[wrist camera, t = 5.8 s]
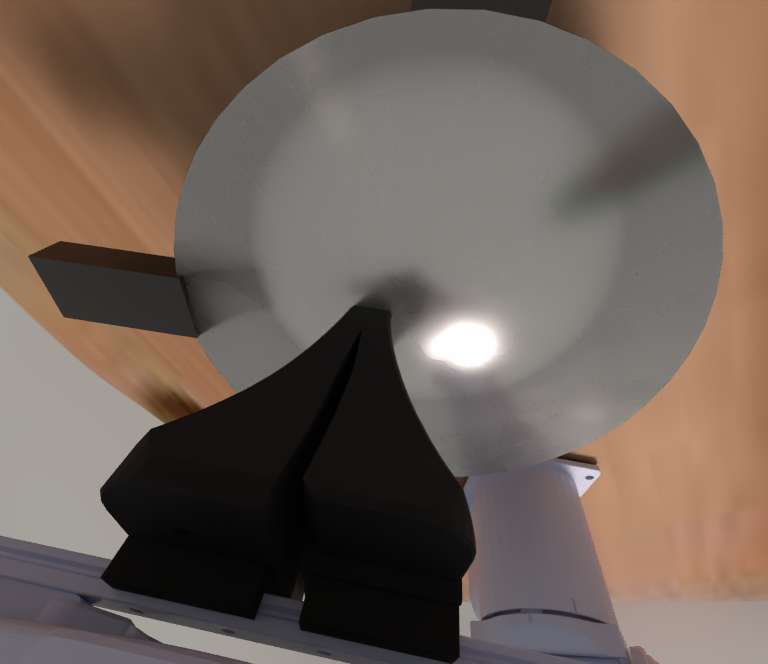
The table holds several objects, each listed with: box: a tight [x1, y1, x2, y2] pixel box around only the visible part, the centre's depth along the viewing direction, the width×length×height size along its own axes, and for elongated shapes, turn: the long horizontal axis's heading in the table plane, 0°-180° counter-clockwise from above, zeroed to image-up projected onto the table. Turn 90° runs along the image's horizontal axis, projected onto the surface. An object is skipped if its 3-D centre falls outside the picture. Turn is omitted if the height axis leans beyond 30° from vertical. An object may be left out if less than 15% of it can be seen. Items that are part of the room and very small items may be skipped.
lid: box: [28, 9, 722, 477], centre depth 12 cm, size 16×21×1 cm
